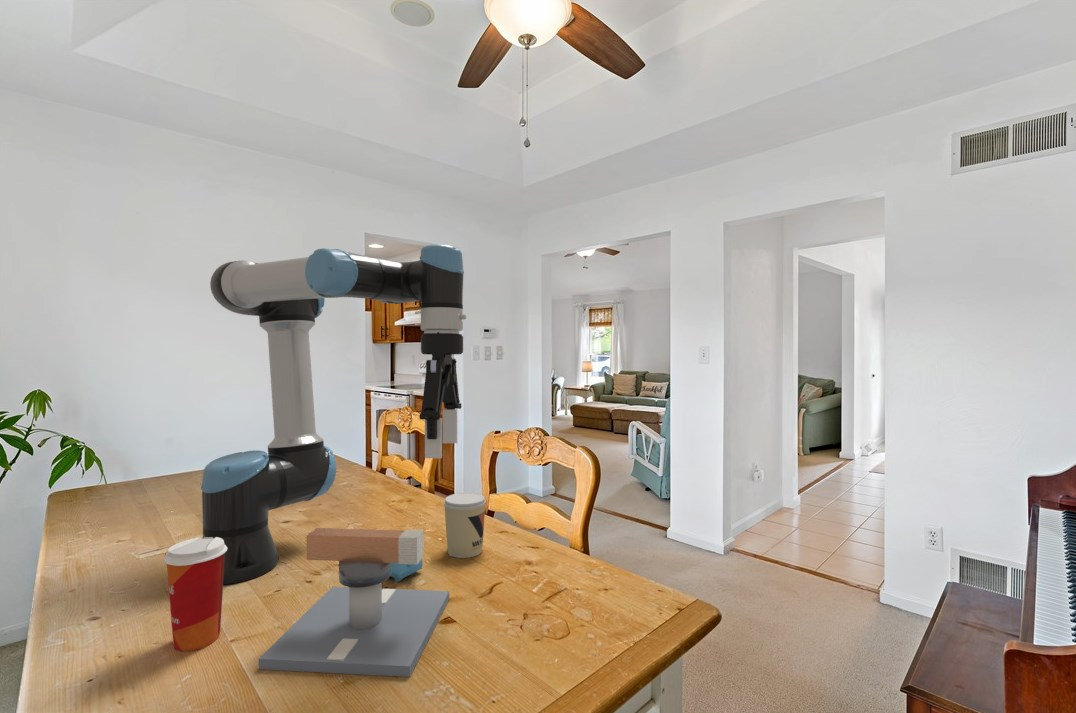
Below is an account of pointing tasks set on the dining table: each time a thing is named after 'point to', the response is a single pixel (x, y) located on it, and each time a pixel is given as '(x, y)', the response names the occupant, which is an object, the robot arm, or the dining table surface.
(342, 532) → the t handle
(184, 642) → the coffee cup
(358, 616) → the striped base plate
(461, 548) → the coffee cup
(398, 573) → the teapot
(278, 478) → the robot arm
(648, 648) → the dining table surface
